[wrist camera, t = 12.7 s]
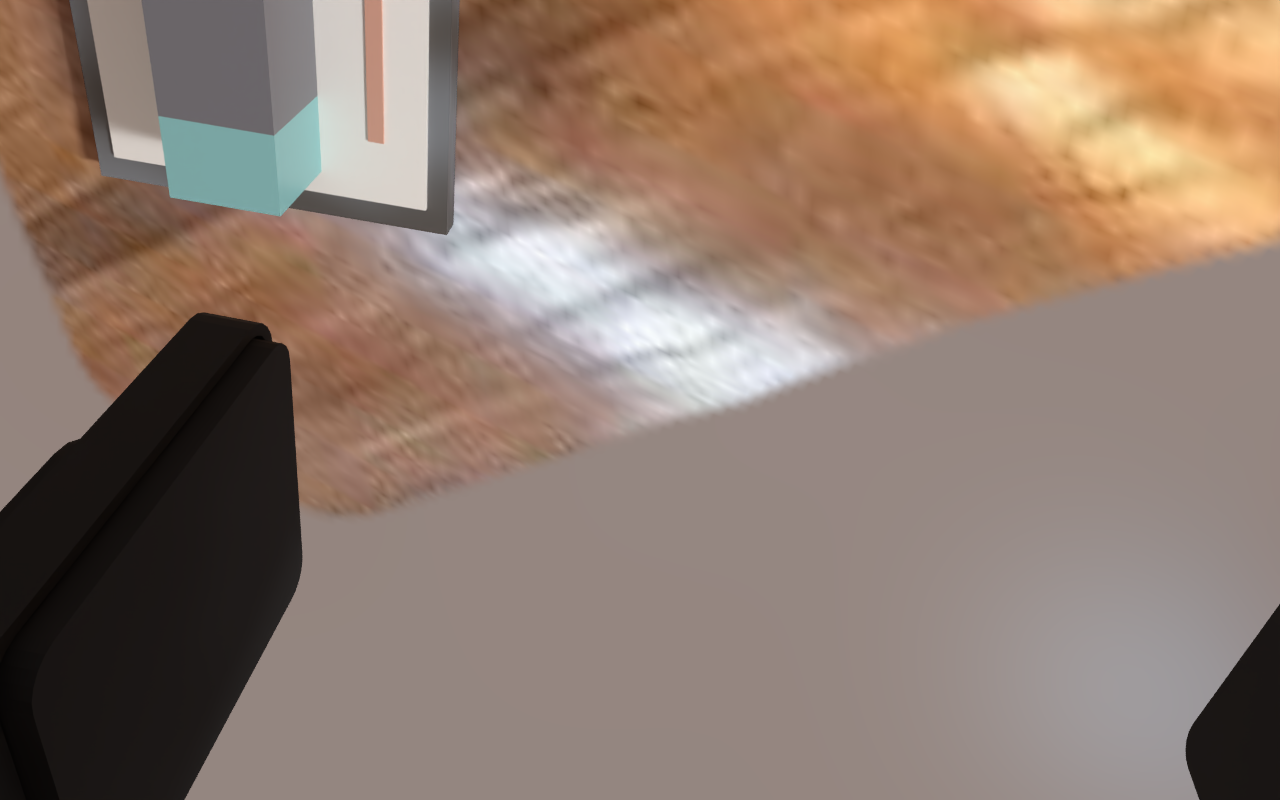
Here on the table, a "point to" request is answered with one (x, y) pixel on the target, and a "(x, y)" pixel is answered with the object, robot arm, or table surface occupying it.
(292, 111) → the teal-tipped grey bar
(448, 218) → the drawing board
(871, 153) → the table surface
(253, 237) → the table surface
